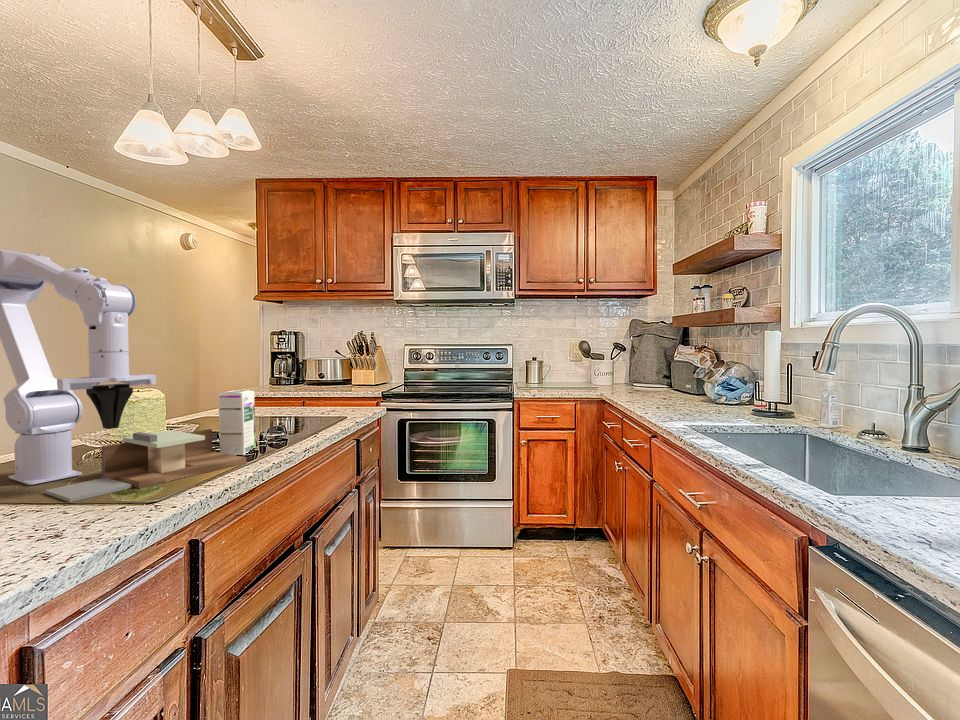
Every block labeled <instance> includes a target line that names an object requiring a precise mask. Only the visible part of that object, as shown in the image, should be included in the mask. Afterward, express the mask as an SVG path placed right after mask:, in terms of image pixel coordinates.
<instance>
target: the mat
mask: <svg viewBox="0 0 960 720" xmlns="http://www.w3.org/2000/svg"><path fill="white" fill-rule="evenodd" d="M128 489H132V484H128V483H124V482H121V481H117V480H113V479H109V478H102V477H100V478H97V479H92V480H91V479H90V480H88V481H87V480H86V481H82V482H78V483H73V484H68V485H63V486H59V487H54V488H49V489H45V490H44V494H45V495H48V496H51V497H54V498H57V499H60V500H62V501H65V502H68V503H72V502H77V501H82V500H85V499H91V498H94V497H99V496H103V495H107V494H110V493H115V492H119V491H124V490H128Z"/></svg>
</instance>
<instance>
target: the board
mask: <svg viewBox="0 0 960 720" xmlns="http://www.w3.org/2000/svg"><path fill="white" fill-rule="evenodd" d="M187 433H191V434H197V435H203V436H205V440H200V441H195V442H189V443H185V468H182V469H178V470H173V471H169V472H164V473H160V474H157V473H153V472H149V471H148V446H143V445H138V444H133V443H128V442H120V443H119V442H118V443H112V444H107V445H102V446H100V447H101V451H100V452H101V478H109V479H113V480H117V481H121V482H124V483H128V484H132V487H133V488H137V489H142V488H146V487H151V486H156V485H159V483H160V484H164V483H168V482H172V481H171V480H173V481H176V480H175V479H177V480H180V479H179V478H181V479H184V477H185V478H189V477H192V476H193V477H194V476H198V475H202V474H206V473H210V472H213V471H218V470H223V469H227V468H230V467H231V468H232V467H236V466H240V465H244V464H247V457H246V456H236V455H230V454H225V453H220V451H219V452H218V451H213V429H212V428H211V429H210V428H206V429H201V430H196V431H188V432H187ZM163 482H164V483H163ZM155 484H156V485H155Z"/></svg>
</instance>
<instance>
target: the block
mask: <svg viewBox="0 0 960 720" xmlns="http://www.w3.org/2000/svg"><path fill="white" fill-rule="evenodd" d="M182 468H185V443H183V444H178V445H172V446H166V447H161V448H154V447H149V446H148V471H149V472H153V473H157V474H160V473H164V472H169V471H173V470H178V469H182Z"/></svg>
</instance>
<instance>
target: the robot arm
mask: <svg viewBox="0 0 960 720" xmlns="http://www.w3.org/2000/svg"><path fill="white" fill-rule="evenodd" d="M46 284H50V285H52V286H54V290H55V292H56V294H58V295H59V296H60V297H62V298H65V299H66V300H68V301H70V302H72V303H75V304H76V305H78V307H79V309H80V311H81V312H82V314H83V322H84V324H85V326H87V335H88V337H87V339H88V376H83V377H71V378H70V377H69V378H56V377H54V375H53V372H52V370H51V367H50V365H49V362H48V359H47V357H46V354H45V352H44V349H43V346H42V344H41V341H40V338H39V336H38V335H39V334H37V330H36V328H35V325H34V323H33V320H32V317H31V315H30V311H29V309H28V307H27V304H29V303H31V302H32V301H33V302H34V301H36V300H37V299H38V297H39V295H40V294H41V293H42V291H43V289H44V288H45V286H46ZM136 305H137V298H136V294H135V293H134V291H133V290H132V288H130V287H129V286H127V285H126V284H125V285H124V284H111V283H110V282H108V279H106V278H105V277H102V276H95V275H92V274H90V270H89V269H88V268H85V267H78V266H77V267H75V268H67V269H66V268H64V267H62V266H61V265H59V264H57V263H55V262H54V261H52V260H51V257H49V256H45V255H43V254H38V253H34V254H33V253H26V252H20V251H15V250H6V249H2V248H1V249H0V342H1V344H2V347H3V349H4V352H5V355H6V358H7V360H8V364H9V366H10V368H11V371H12V374H13V376H14V379H15V383H16V386H14V387H13V388H12V389H11V390H10V391H8V392H7V394H6V395H5V397H4V398H3V402H4V408H5V415H4V416H5V420H6V423H7V426H8V427H10V429H12V430H13V431H14V432H15V433H14V434H16V435H17V434H19V436H18V437H17V438H16V440H15V442H14V448H13V449H14V473H15V474H11V475H8V479H10V480H13V481H17V482H19V483H22V484H25V485H27V486H33V485H38V484H44V483H47V482H49V483H50V482H54V481H59V480H62V479H69V478H72V477H73V478H74V477H79V476H82V475H83V472H82V471H78V470H74V469H73V450H72V447H73V445H72V429H76V424H78V423H79V422H80V420H81V418H82V416H83V412H84V407H83V403H82V400H80V398H79V397H78V395H77V394H75V392H74V391H76V390H79V391H80V390H85V391H86V395H87V397H89V399H90V400H91V402H92V403H93V405H94V407H95V409H96V411H97V413H98V416H99V418H100V421H101V426H102V429H105V430H112V429H119V427H120V422H121V418H122V415H123V412H124V409H125V407H126V405H127V403H128V401H129V399H130V398H131V396H132V395H133V393H134V388H133V387H134V386H150V385H151V386H155V385H157V377H156V374H151V373H148V374H145V373H144V374H130V354H129V353H130V352H129V351H130V350H129V347H130V346H129V341H130V340H129V317H130V316H131V315H132V314H133V313H134V312H135V310H136ZM118 382H119V383H118ZM103 383H111V384H103Z"/></svg>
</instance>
